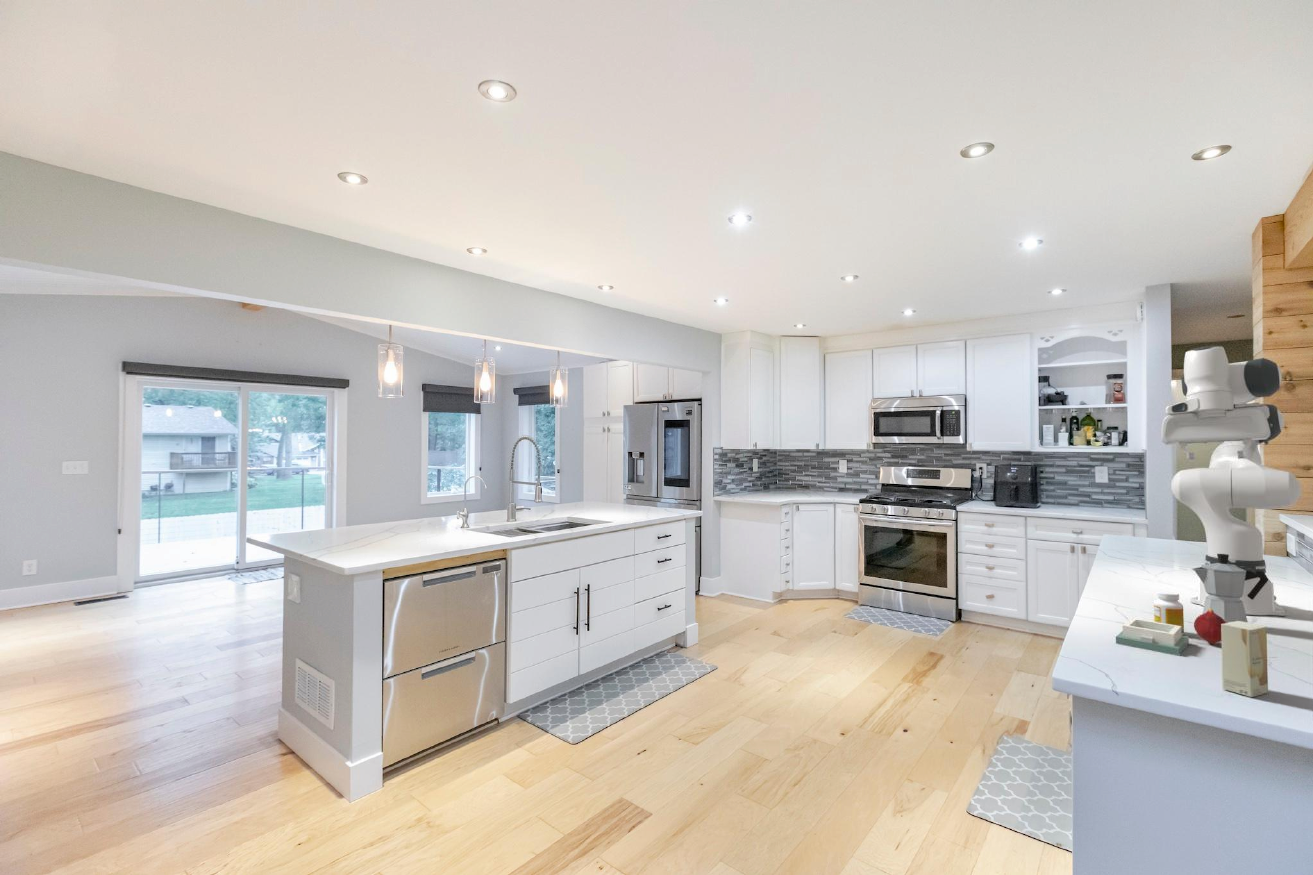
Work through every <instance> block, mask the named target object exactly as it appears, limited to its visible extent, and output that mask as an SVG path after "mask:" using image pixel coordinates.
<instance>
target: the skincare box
mask: <svg viewBox="0 0 1313 875" xmlns="http://www.w3.org/2000/svg"><path fill="white" fill-rule="evenodd" d="M1267 629H1268V628H1267V626H1266V625H1265V626H1264V625H1259V624H1257V623H1251V622H1248V623H1247V622H1242V621H1235V622H1228V623H1225V624H1221V638H1222V641H1221V668H1222V669H1221V674H1222V675H1221V676H1222V683H1221V684H1222V690H1225V691H1228V692H1229V691H1230V692H1232V693H1237V694H1239V695H1243V696H1245V697H1249V698H1253V697H1257V696H1262V695H1265V694H1267V693H1268V692H1269V681H1268V680H1269V676H1268V673H1269V672H1268V637H1267V636H1268V635H1267Z"/></svg>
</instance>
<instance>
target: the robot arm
mask: <svg viewBox="0 0 1313 875" xmlns="http://www.w3.org/2000/svg"><path fill="white" fill-rule="evenodd" d="M1183 361H1184V362H1183V374H1182V375H1181V377H1180V379H1181V380H1180V382H1181V389H1182V390H1181V391H1182V394H1183V396H1185V397H1186V400H1184V401H1180V402H1177V403H1174V404H1170V405H1168V406H1167V407H1166V408H1165V409H1164V410H1165V415H1166V416H1165V417H1164V418H1163V420H1162V424H1161V433H1160V434H1161V442H1162V443H1163V444H1165V445H1166V446H1167V445H1169V446H1170V445H1179V448H1180V449H1181V451H1183V453H1184V454H1186V461H1189V462H1191V461H1196V460H1195V459H1196V458H1195V453H1194V452H1190V451H1189V450H1188V449H1187V448H1188V445H1189V444H1208V443H1220V444H1219V445H1217V447H1216V448H1215V449H1214V451H1213V452H1212V454H1211V455H1210V459H1209V466H1208V467H1196V468H1188V469H1182V470H1179V471H1178V472H1177V473H1176V474H1174V476H1173V477H1172V479H1171V482H1170V489H1171V493H1172V494H1173V496H1174V498H1175V499H1176V500H1178V501H1179V502H1180V503H1181V504H1183V505H1185V506H1186V507H1188V508H1189V509H1190V510H1192V511H1193V512H1194V513H1195V514H1196V515H1197V517H1198V518H1199V520H1200V521H1201V523H1202V525H1203V528H1204V532H1205V539H1206V549H1207V550H1206V551H1207V554H1206V555H1205V559H1204V562H1205V563H1204V565H1206V564H1214V563H1219V560H1218V556H1217V554H1228V555H1229V558H1228V562H1227V564H1230V565H1233V566H1237V567H1240V566H1245V567H1248V568H1252V569H1257V570H1260V571H1263V572H1264V573H1265V574H1266V573H1267V571H1266V569H1267V564H1266V561H1265V559H1264V552H1263V551H1264V550H1263V547H1264V546H1263V535H1262V532H1261V530H1260V529H1259V528H1258V527H1257V526H1255V525H1253V524H1251V523H1249V522H1248V521H1245V520H1242V519H1239V518H1237V517H1235V516H1233V515H1232V513H1231V512H1230V509H1233V508H1234V509H1235V508H1237V509H1250V510H1251V509H1255V510H1256V509H1257V510H1272V509H1283V508H1291V507H1293V506H1294V505H1296V503H1298V501H1299V500H1300V497H1301V495H1302V486H1301V483H1300V481H1299V479H1298V478H1297V477H1296V476H1295V475H1294V474H1292V473H1291V472H1289V471H1285V470H1281V469H1277V468H1271V467H1269V466H1266V465H1264V464H1263V462H1262V455H1261V454H1260V453H1261V452H1259V451H1260V450H1259V445H1260V444H1263V443H1264V445H1265V446H1267V445H1269V442H1270V441H1272V440H1274V439H1276V438H1277V437H1278V436H1279V435H1280V434H1281V433H1282V430H1283V428H1284V425H1285V418H1284V415H1283V413H1282V412H1281V411H1280V410H1279V408H1278V407H1277V406H1276V405H1274V404H1269V403H1260V402H1253V401H1255V400H1257V399H1260V398H1268V397H1272V396H1273V395H1274V394H1275V393H1277V392H1278V391H1279V390H1280V387H1281V385H1282V381H1283V380H1282V378H1283V376H1282V375H1283V374H1282V372H1281V369H1280V367H1279V366H1278V364H1277V363H1276V362H1274V361H1273V360H1270V359H1268V358H1265V357H1261V358H1260V357H1259V358H1255V359H1250V360H1246V361H1240V362H1238V361H1237V362H1232V363H1229V359H1228V356H1227V354H1226V350H1225V348H1224V347H1223V346H1220V345H1207V346H1202V347H1195V348H1191V349H1189V350H1187V351H1186V352H1185V354H1184V359H1183ZM1259 580H1260V578H1254V579H1250V580H1246V581H1245V582H1244V589H1243V596H1242V597H1240V600H1241V601H1243V605H1244V609H1245V613H1246V615H1251V616H1281V617H1283V616H1284V617H1285V616H1287V615H1286V611H1285V610H1284V609H1283V607H1282V606H1280V604H1279V603H1277V601H1276V600H1277V596H1276V595H1275V588H1274V583H1273V582H1272V581H1271V580H1270V579H1269V580H1268V581H1267V583H1266V584H1265V585H1264V586H1263V588H1262V589H1261V590H1260V591H1259V593H1258V594H1257V595H1256V596H1255V598H1254V599H1253V600H1252V599H1250V598H1249V597H1248V596H1247V595H1248V594H1249V593H1250V592H1251V590H1252V589H1253V588H1254V587H1255V585H1256V584H1257V583H1258V582H1259ZM1197 587H1198V591H1197V592H1198V594H1197V596H1194V597H1192V598H1190V600H1189V601H1190V603H1192V604H1197V605H1201V606H1203V607H1204V604H1205V599H1206V597H1207V596H1208V593H1207V592H1206V591H1205V587H1204V584H1203V582H1202V581H1201V579H1200V578H1199V577H1198V586H1197Z"/></svg>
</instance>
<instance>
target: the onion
mask: <svg viewBox="0 0 1313 875" xmlns="http://www.w3.org/2000/svg"><path fill="white" fill-rule="evenodd" d="M1225 623H1226V622H1225V621H1224V620H1223V619H1222V618H1221V617H1220V616H1218V615H1217V614H1215V613H1214V612H1213V610H1212V609H1210V608H1209V609H1208V611H1207V612H1206V613H1204V614H1203V613H1202V614H1200V615H1199V616H1197V617H1196V618H1195V620H1194V623H1193V628H1194V631H1195V632H1196V634H1197V635H1198V636H1199V637H1200V638H1201V639H1203V640H1204V641H1205V642H1207V643H1208V644H1210V645H1215V644H1217V643H1220V642H1222V638H1221V624H1225Z"/></svg>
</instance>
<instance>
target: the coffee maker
mask: <svg viewBox="0 0 1313 875" xmlns="http://www.w3.org/2000/svg"><path fill="white" fill-rule="evenodd" d="M1217 556H1218V560H1219V563H1214V564H1206V565H1205V564H1201V566H1198V567H1193V568H1191V570H1193V571H1194V572H1195V574H1196V575H1197V576H1198V579H1199V578H1200V579H1201V581H1202V582H1203V584H1204V587H1205V591H1206V592H1207V593H1208V596H1207V597H1206V599H1205V604H1204V606H1203V611H1202V614H1204V613H1206V612H1207V611H1208V609H1209V608H1210V609H1212V610H1213V612H1214V613H1215V614H1217V615H1218V616H1220V617H1221V618H1222V619H1223V620H1224V621H1225V622H1226V623H1228V622H1235V621H1242V622H1247V623H1249V622H1248V617H1247V614H1246V613H1245V609H1244V605H1243V601H1241V600H1240V597H1242V596H1243V589H1244V582H1245V581H1246V580H1250V579H1254V578H1260V580H1259V582H1258V583H1257V584H1256V585H1255V587H1254V588H1253V589H1252V590H1251V592H1250V593H1249V594H1248V595H1247V596H1248V597H1249V598H1250V599H1252V600H1253V599H1254V598H1255V596H1256V595H1257V594H1258V593H1259V591H1260V590H1261V589H1262V588H1263V586H1264V585H1265V584H1266V583H1267V581H1268V580H1270V579H1269V578H1268V576H1267V574H1266V573H1264V572H1263V571H1260V570H1257V569H1252V568H1248V567H1245V566H1240V567H1237V566H1233V565H1230V564H1227V562H1228V558H1229V555H1228V554H1217Z"/></svg>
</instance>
